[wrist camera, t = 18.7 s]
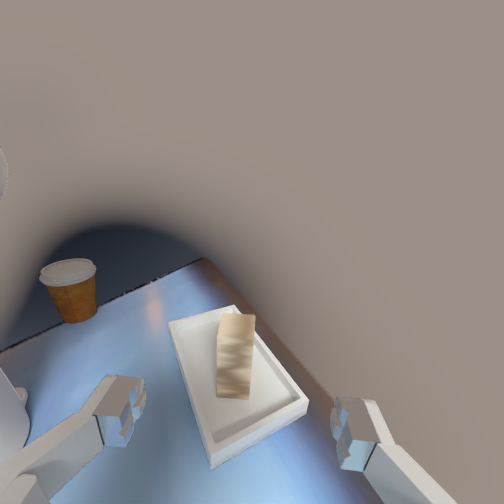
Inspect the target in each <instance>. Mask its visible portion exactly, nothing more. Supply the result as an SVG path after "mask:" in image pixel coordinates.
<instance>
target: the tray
mask: <svg viewBox="0 0 504 504" xmlns="http://www.w3.org/2000/svg"><path fill="white" fill-rule="evenodd" d="M223 313H234V314H241V313H240V311H239V310H238V309H237V308H236V306H235V305H232V306H228V307H224V308H220V309H216V310H212V311H209V312H205V313H201V314H197V315H193V316H190V317H186V318H182V319H178V320H174V321H170V322H168V329H169V335H170V339H171V342H172V345H173V348H174V352H175V355H176V358H177V361H178V365H179V368H180V371H181V374H182V378H183V381H184V384H185V387H186V391H187V394H188V397H189V400H190V404H191V407H192V410H193V413H194V417H195V420H196V423H197V426H198V429H199V433H200V436H201V439H202V442H203V446H204V449H205V452H206V455H207V459H208V462H209V465H210V468H211V470H212V469H214V468H216V467H217V466H219V465H221V464H222V463H224V462H226V461H227V460H229V459H231V458H232V457H234V456H236V455H237V454H239V453H241V452H243V451H244V450H246V449H248V448H249V447H251V446H253V445H254V444H256V443H258V442H259V441H261V440H263V439H264V438H266V437H268V436H269V435H271V434H273V433H275V432H276V431H278V430H280V429H281V428H283V427H285V426H286V425H288V424H290V423H291V422H293V421H295V420H296V419H298V418H300V417H301V416H303V415H305V414H306V411H307V407H308V402H309V400H308V398H307V397H306V396H305V395H304V393H303V392H302V391H301V390H300V388H299V387H298V386H297V384H296V383H295V382H294V381H293V379H292V378H291V377H290V375H289V374H288V373H287V372H286V370H285V369H284V368H283V366H282V365H281V364H280V363H279V361H278V360H277V359H276V358H275V356H274V355H273V354H272V352H271V351H270V350H269V349H268V347H267V346H266V345H265V343H264V342H263V341H262V340H261V338H260V337H259V336H258V335H257V333H256V332H255V331H254V345H253V358H252V370H251V382H250V395H249V400H242V399H231V398H220V397H217V333H218V329H219V326H220V322H221V318H222V314H223Z"/></svg>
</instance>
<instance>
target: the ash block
mask: <svg viewBox="0 0 504 504" xmlns="http://www.w3.org/2000/svg"><path fill="white" fill-rule="evenodd" d="M254 330H255V315H247V314H234V313H223V314H222V318H221V322H220V326H219V329H218V333H217V397H220V398H231V399H242V400H249V395H250V382H251V370H252V358H253V345H254Z"/></svg>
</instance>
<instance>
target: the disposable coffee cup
mask: <svg viewBox="0 0 504 504" xmlns="http://www.w3.org/2000/svg"><path fill="white" fill-rule="evenodd" d="M95 271H96V267H95V265H93V263H92V261H90V260H88V259H68V260H63V261H58V262H55V263H52V264H50V265H48V266H46V267H44V268H43V269H42V270H41V276H40V281H41V282H43V284H45V285H46V287H47V289H48V291H49V293H50V295H51V297H52V299H53V301H54V303H55V305H56V307H57V309H58V310H59V312H60V314H61V316H62V318H63V320H64V321H65V322H67V323H77V322H82V321H84V320H87V319H89V318H91V317H92V316H93V315H94V314H95V313H96V311H97V307H96V291H95Z"/></svg>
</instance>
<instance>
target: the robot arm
mask: <svg viewBox="0 0 504 504" xmlns="http://www.w3.org/2000/svg"><path fill="white" fill-rule="evenodd" d="M8 177H9V173H8V165H7V161H6V158H5V155H4V153H3V151H2V149H1V147H0V199H1V197H2V196H3V194H4V192H5V190H6V188H7V184H8ZM144 385H145V381H144V379H142V378H134V377H125V376H117V375H106V376H105V377H104V378H103V379H102V380H101V382H100V383H99V384H98V386H97V387H96V388H95V390H94V391H93V393H92V394H91V395H90V397H89V398H88V400H87V401H86V402H85V404H84V405H83V407H82V408H81V409H80V411H79V412H78V413H77V414H72V415H71V416H69V417H68V418H66V419H65V420H63V421H62V422H60V423H59V424H57V425H56V426H54V427H53V428H51V429H50V430H49V431H47V432H46V433H44V434H43V435H41V436H40V437H38V438H37V439H35V440H34V441H32V442H31V443H29V444H28V445H26V446H25V447H24V448H23V446H24V444H25V442H26V439H27V437H28V433H29V429H30V420H29V416H28V414H27V412H26V410H25V405H26V401H27V398H28V392H27V391H26V389H25V388H23V387H17V388H14V387H13V386H12V384H11V382H10V381H9V379H8V378H7V376H6V375H5V374H4V372H3V371H2V369H1V368H0V504H50V502H49V500H50V499H51V498H52V497H53V496H54V495H55V494H56V493H57V492H58V491H59V490H60V489H62V488H63V487H64V486H65V485H66V484H67V483H68V482H69V481H70V480H71V479H72V478H73V477H74V476H75V475H76V474H77V473H78V472H79V471H80V470H81V469H82V468H83V467H84V466H85V465H86V464H87V463H88V462H89V461H90V460H91V459H93V458H94V457H95V456H96V455H97V454H98V453H99V452H100V451H101V450H102V449H103V448H104V446H110V447H126V446H127V444H128V442H129V440H130V438H131V436H132V434H133V432H134V429H135V427H134V422H135V421H136V420H137V419H138V418H140V417H141V414H142V412H143V410H144V407H145V403H146V397H147V395H146V391H145V390H144V389H143V387H144ZM334 404H335V408H333V409H332V411H331V414H330V424H331V430H332V435H333V437H334V438H335V439H336V440H337V441H338V444H337V447H336V451H337V455H338V458H339V462H340V466H341V469H347V470H355V471H362V472H364V475H365V476H366V478H367V479H368V481H369V482H370V483H371V485H372V486H373V488H374V489H375V491H376V492H377V493H378V495H379V496H380V498H381V499H382V501H383V502H384V503H385V504H457V503H456V502H455V501H454V500H453V499H452V498H451V497H450V496H449V495H448V494H447V493H446V492H445V491H444V490H443V489H442V488H441V487H440V486H439V485H438V484H437V483H436V482H435V481H434V480H433V479H432V478H431V477H430V476H429V475H428V474H427V473H426V472H425V471H424V470H423V469H422V468H421V466H420V465H419V464H417V463H416V461H414V459H413V458H411V456H410V455H409V454H407V452H406V451H405V450H404V449H403V448H402V447H401V446H400V445H395V442H394V440H393V438H392V436H391V434H390V432H389V429H388V427H387V425H386V423H385V421H384V419H383V417H382V414H381V412H380V410H379V408H378V406H377V404H376V402H375V401H374V400H367V399H359V398H346V397H336V398H335V401H334Z"/></svg>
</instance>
